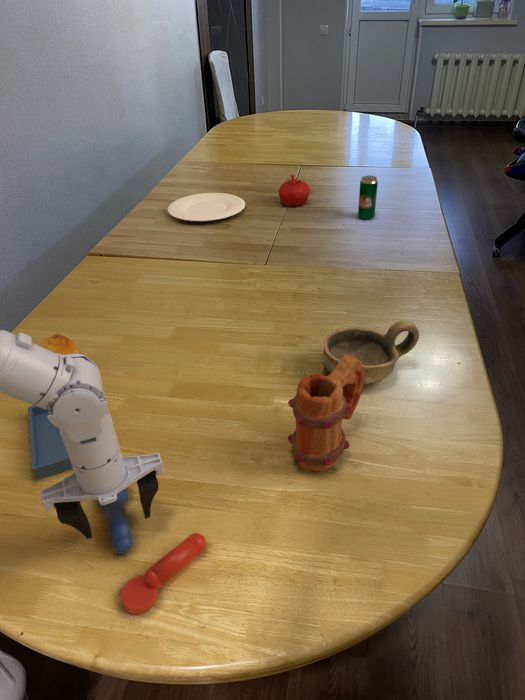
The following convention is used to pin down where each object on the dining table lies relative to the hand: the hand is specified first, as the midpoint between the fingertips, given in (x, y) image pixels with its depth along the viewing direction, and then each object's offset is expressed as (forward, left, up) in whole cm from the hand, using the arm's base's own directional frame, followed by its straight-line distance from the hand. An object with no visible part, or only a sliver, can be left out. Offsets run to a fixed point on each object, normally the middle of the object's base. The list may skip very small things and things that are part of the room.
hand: (117, 522), depth 69 cm
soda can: (+113, +41, -2) cm, 120 cm away
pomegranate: (+108, +66, -2) cm, 127 cm away
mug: (+31, -11, -2) cm, 33 cm away
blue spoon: (+1, +2, -2) cm, 3 cm away
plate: (+85, +83, -2) cm, 119 cm away
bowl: (+51, -4, -2) cm, 51 cm away
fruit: (+12, +39, -2) cm, 41 cm away
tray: (+3, +22, -2) cm, 22 cm away
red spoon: (0, -10, -2) cm, 10 cm away
